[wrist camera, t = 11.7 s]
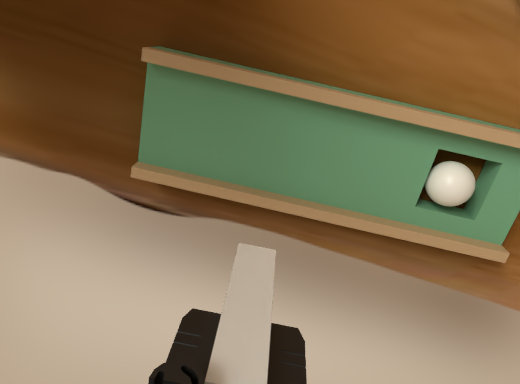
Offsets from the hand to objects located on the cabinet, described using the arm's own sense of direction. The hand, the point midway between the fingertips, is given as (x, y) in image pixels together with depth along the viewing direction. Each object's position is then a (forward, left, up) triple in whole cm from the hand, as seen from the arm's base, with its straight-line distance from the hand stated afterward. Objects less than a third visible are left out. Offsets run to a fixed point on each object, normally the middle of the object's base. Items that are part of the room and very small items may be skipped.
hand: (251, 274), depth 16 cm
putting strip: (0, +5, -22) cm, 23 cm away
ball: (0, +16, -20) cm, 26 cm away
